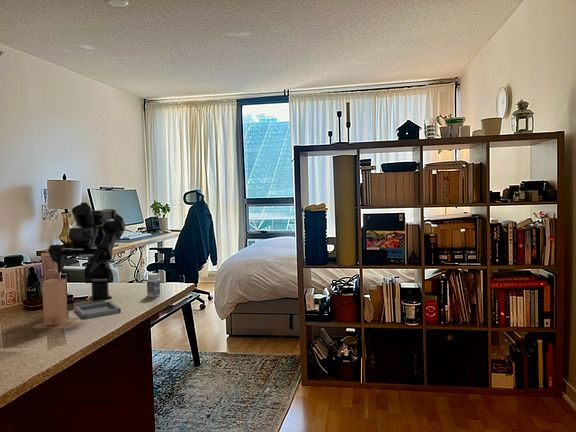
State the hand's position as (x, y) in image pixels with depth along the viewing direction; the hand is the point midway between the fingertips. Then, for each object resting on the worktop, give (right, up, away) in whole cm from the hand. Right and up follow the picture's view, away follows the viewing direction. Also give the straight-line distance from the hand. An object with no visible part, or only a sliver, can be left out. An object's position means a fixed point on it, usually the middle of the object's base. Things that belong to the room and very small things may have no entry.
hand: (74, 271), depth 136 cm
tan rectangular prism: (-2, -14, -7) cm, 16 cm away
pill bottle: (+16, -13, +28) cm, 35 cm away
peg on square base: (-2, -15, -7) cm, 17 cm away
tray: (+5, -14, +5) cm, 16 cm away
